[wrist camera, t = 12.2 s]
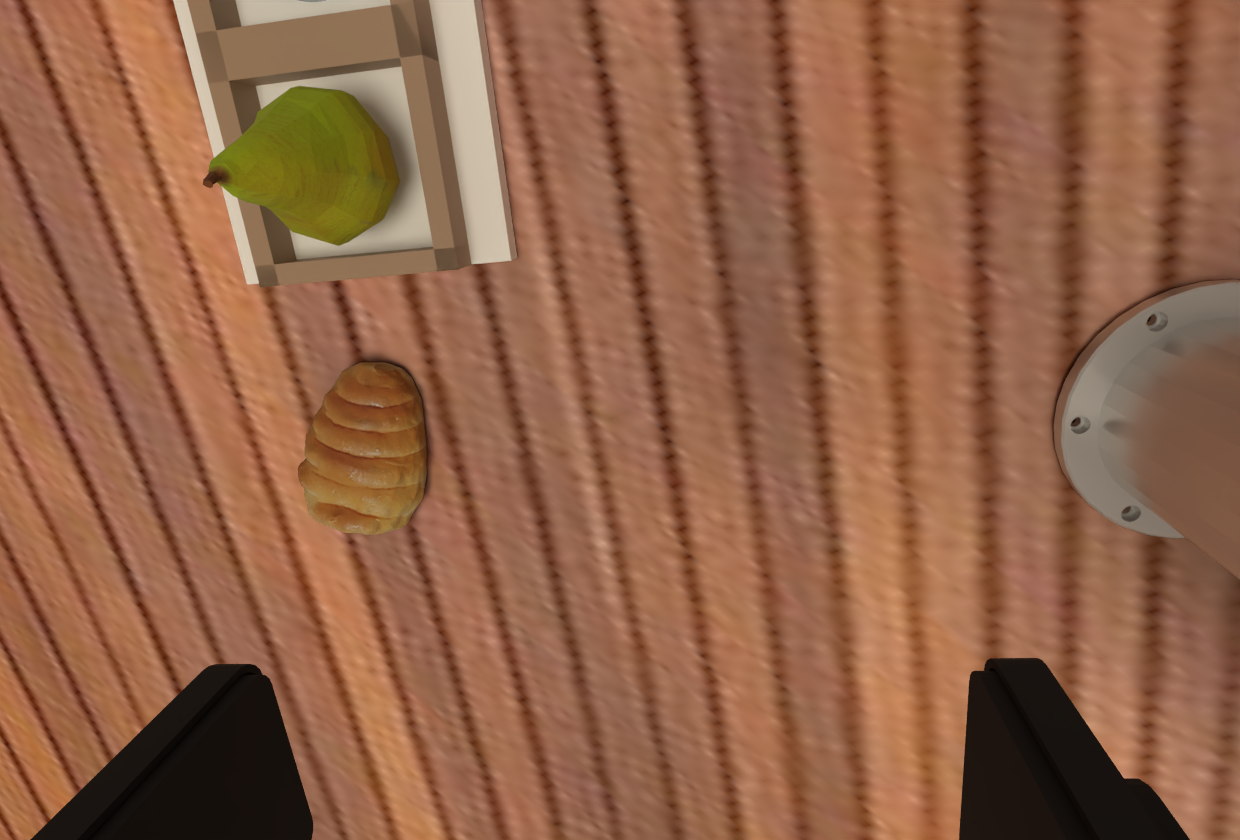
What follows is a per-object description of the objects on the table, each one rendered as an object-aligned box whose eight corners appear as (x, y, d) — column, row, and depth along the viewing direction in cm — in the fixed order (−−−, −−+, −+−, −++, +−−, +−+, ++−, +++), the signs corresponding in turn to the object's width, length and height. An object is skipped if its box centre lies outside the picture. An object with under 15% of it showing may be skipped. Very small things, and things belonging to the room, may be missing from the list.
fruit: (292, 87, 33) (80, 44, 22) (421, 103, 33) (271, 68, 22) (296, 228, 36) (104, 253, 24) (417, 245, 35) (279, 280, 24)
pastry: (331, 341, 39) (293, 358, 35) (451, 375, 39) (425, 396, 35) (313, 493, 42) (277, 522, 39) (424, 524, 42) (398, 557, 38)
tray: (448, -234, 30) (418, -279, 27) (517, 257, 36) (499, 265, 33) (145, -175, 32) (86, -211, 29) (261, 281, 38) (222, 290, 35)
